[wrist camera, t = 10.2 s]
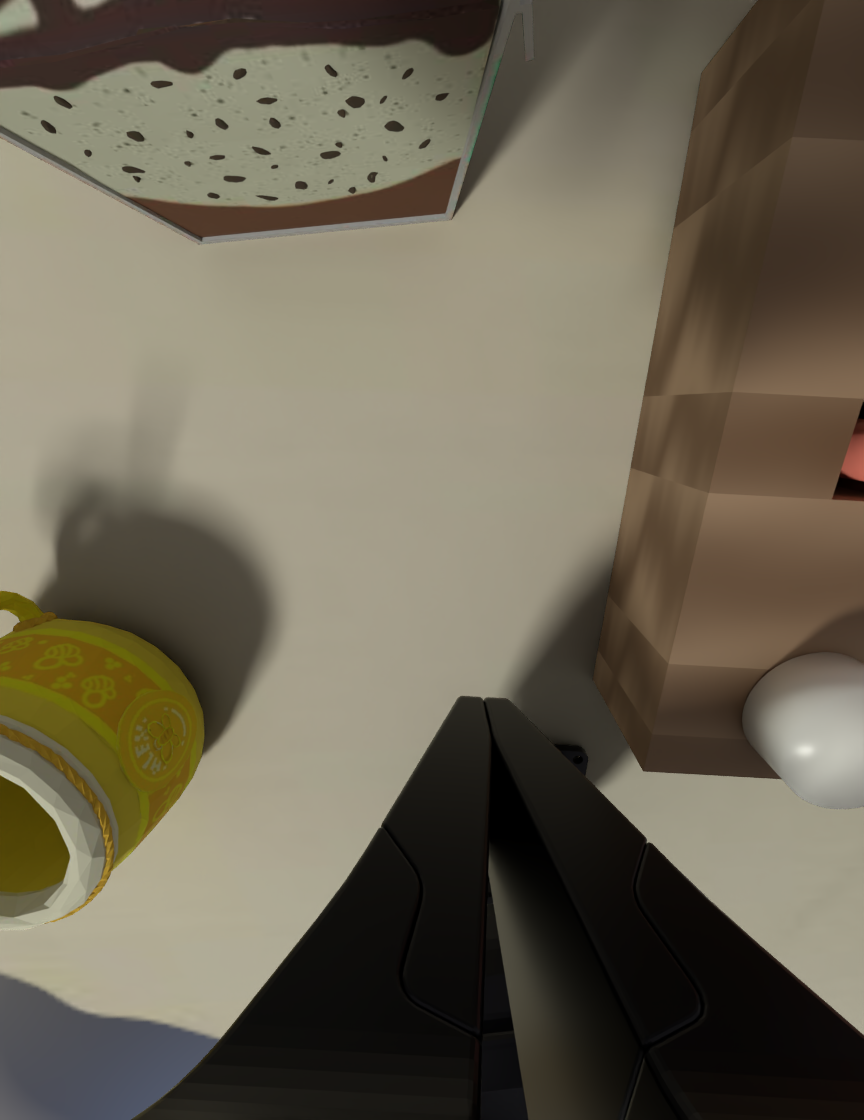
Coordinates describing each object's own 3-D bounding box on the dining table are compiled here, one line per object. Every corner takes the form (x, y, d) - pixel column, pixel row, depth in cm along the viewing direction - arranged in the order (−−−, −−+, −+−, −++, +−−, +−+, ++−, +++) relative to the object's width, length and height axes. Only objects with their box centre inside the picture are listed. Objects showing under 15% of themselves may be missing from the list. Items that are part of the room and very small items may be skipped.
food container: (486, -11, 15) (562, -742, 5) (493, 216, 17) (557, -32, 7) (112, 34, 15) (-412, -560, 6) (160, 248, 17) (-182, 57, 8)
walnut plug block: (800, 690, 23) (921, 787, 17) (592, 679, 23) (643, 771, 17) (1006, 87, 15) (1338, -102, 10) (701, 72, 15) (853, -123, 10)
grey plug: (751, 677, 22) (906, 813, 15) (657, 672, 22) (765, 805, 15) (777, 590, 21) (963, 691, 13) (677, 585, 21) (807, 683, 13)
